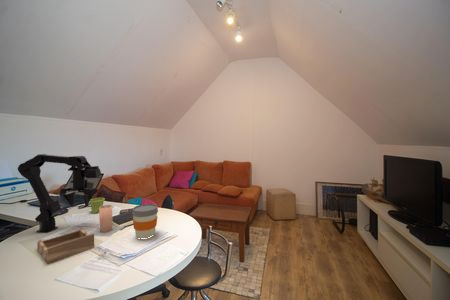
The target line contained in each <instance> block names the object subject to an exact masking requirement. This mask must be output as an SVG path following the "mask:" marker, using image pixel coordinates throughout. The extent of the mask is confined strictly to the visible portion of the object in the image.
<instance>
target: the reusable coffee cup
mask: <svg viewBox="0 0 450 300" xmlns="http://www.w3.org/2000/svg"><path fill="white" fill-rule="evenodd" d="M158 212H159V208H158V205H157V204H155V203H145V204H143V203H142V204H138V205H136V206H134V207H133V208H132V212H131V215H132V224H133V229H134V231H135V232H134V233H135V238H136V237H137V238H140V239H141V238H148V237H150V236H152V235H154V236H155V234H154V233H156V226H157V224H158ZM137 238H136V239H137Z"/></svg>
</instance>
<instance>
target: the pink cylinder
mask: <svg viewBox="0 0 450 300" xmlns="http://www.w3.org/2000/svg"><path fill="white" fill-rule="evenodd" d="M98 214H99V219H98V220H99V227H100V232H101V233H106V232H109V231H111V230H112V229H113V205H112V204H105V205H104V204H103V206H101V207H99V213H98Z"/></svg>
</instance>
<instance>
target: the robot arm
mask: <svg viewBox="0 0 450 300" xmlns="http://www.w3.org/2000/svg"><path fill="white" fill-rule="evenodd" d="M46 163H52V164H53V163H55V164H63V165H64V164H65V165H67V166H69V168H68V169H67V171H71V172H72V173H71V174H72V180H70V183H71V184H72V186H67V187H62V188H61V189H60V190H59V194H60V195H62V196H63V197H64V199H66V201H67V203H68V204H69V205H70V206H71V207H72V206H74V200H75V199H74V197H75V194H76V193H82V194H83V195H82V197H83V200H84V205H85V207H88V206H89V205H90V200H91V199H92V197H93V196H94V195H96V194H97V193H98V192H99V189H98V188H97V187H94V186H95V183H94V182H91V181H88V179H99V178H100V176H101V175H102V174H101V173H102V172H101V169H100V167H99V165H94V166H92V165H91V164H90V163H89V161H88V160H87V158H86V156H84V155H76V156H75V155H73V156H65V155H54V154H46V153H43V154H39V153H38V154H37V155H35V156H34V157H32V158H30V159H28V160H26V161H24V162H21V163H20V164H19V165H18V166H17V171H18V173H19V174H20V176H22V177H23V178H24V179H26V180H28V183H29V184H30V186H31V188H32V190H33V192H34V194H35V196H36V198H37V201H39V202H38V203H39V208H38V209H39V212H40V213H39V214H38V215H37V216H36V217H35V219H34V220H35V223H39V225H38V226H39V229H38V230H36V233H49V232H51V231H53V230H56V229H58V228H59V226H56V223H57V222H56V218H55V217H57V216H58V214H59V213H60V212H61V210H62V209H61V207H62V205H61V204H60V202H59V200H58V199H56V200H54V199H53V198H52V197H51V195H50V193H49V191H48V189H47V187H46V185H45V183H44V181H43V179H42V178H41V171H42V170H41V167H42V166H44V164H46Z"/></svg>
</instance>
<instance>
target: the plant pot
mask: <svg viewBox="0 0 450 300" xmlns="http://www.w3.org/2000/svg"><path fill="white" fill-rule="evenodd" d="M105 199H106V198H104V197H96V198H91V199H90V202H89V206H90V210H91V213H92V214H96V213H98V214H99V207H101V206H104V201H105Z"/></svg>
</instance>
